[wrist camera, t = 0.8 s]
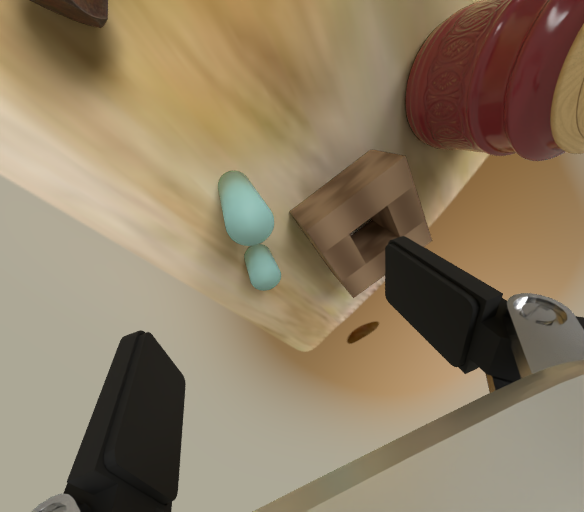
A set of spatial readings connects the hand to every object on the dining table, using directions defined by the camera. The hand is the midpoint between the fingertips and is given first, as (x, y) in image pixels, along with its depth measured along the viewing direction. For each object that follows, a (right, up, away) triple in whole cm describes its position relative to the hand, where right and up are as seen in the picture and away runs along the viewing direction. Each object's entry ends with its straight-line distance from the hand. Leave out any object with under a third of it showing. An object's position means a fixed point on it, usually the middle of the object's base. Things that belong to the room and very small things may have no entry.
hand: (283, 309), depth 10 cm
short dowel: (-4, +2, +22) cm, 22 cm away
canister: (+19, +22, +19) cm, 34 cm away
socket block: (+8, +7, +23) cm, 25 cm away
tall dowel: (-6, +9, +17) cm, 20 cm away
